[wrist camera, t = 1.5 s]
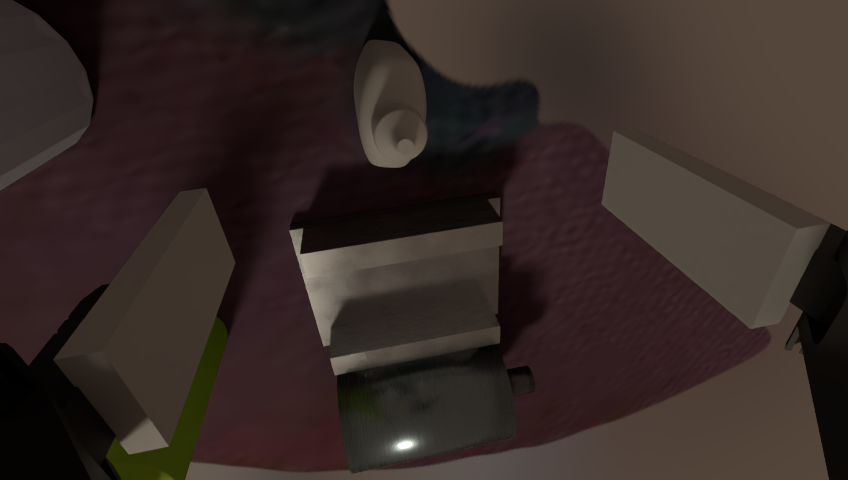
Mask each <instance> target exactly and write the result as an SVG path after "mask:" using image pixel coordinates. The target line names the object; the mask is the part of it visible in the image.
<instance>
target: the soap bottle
mask: <svg viewBox="0 0 848 480" xmlns="http://www.w3.org/2000/svg"><path fill="white" fill-rule="evenodd" d="M92 106H93V95H92V91H91V88H90V84H89V80H88V77H87V73H86V70H85V68H84V67H83V65H82V64H81V62H80V61H79V59H78V58H77V56H76V54H75V53H74V51H73V50H72V48H71V47H70V45H69V44H68V42H67V41H66V40H65V39H64V38H63V37H62V36H61V35H60V34H59V33H57V32H56V31H55V30H54V29H53V28H52V27H51V26H50V25H49V24H48V23H47V22H46V21H44V20H43V19H42V18H41V17H40V16H39V15H38V14H36V13H34V12H33V11H31V10H29V9H27V8H26V7H24V6H22V5H20V4H18V3H17V2H15V1H13V0H0V190H2V189H3V188H5V187H7V186H8V185H10V184H11V183H13V182H15V181H16V180H18V179H19V178H21V177H23V176H24V175H26V174H27V173H29V172H31V171H32V170H34V169H35V168H37V167H39V166H40V165H42V164H43V163H45V162H47V161H48V160H50V159H51V158H53V157H55V156H56V155H58V154H59V153H61V152H63V151H64V150H66V149H67V148H69V147H71V146H72V145H74V144H76V143H77V141H78V140H79V139H80V137H81V136H82V135H83V133H84V132H85V130H86V129H87V128H88V126H89V125H90V120H91V113H92Z"/></svg>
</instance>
